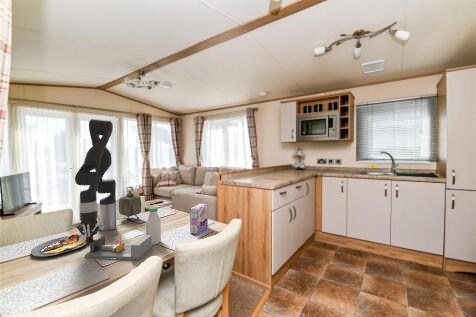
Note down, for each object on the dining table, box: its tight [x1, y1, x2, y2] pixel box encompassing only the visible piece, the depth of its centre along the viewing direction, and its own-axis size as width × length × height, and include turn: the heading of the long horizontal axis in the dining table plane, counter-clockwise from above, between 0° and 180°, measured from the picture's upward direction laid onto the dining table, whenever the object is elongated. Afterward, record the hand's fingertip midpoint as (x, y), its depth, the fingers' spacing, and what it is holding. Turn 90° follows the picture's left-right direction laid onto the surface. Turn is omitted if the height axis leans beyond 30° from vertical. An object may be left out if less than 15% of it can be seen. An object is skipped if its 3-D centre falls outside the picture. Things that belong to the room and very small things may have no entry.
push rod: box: [89, 235, 120, 252], centre depth 109 cm, size 12×8×5 cm, turn 84°
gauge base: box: [84, 234, 153, 262], centre depth 108 cm, size 28×12×8 cm, turn 84°
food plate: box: [30, 234, 88, 257], centre depth 115 cm, size 25×23×4 cm
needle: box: [116, 233, 126, 252], centre depth 108 cm, size 1×5×8 cm, turn 174°
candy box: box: [189, 203, 209, 235], centre depth 138 cm, size 14×6×16 cm, turn 161°
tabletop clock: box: [118, 186, 142, 221], centre depth 160 cm, size 14×9×25 cm, turn 66°
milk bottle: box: [145, 206, 162, 246], centre depth 120 cm, size 8×8×20 cm
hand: (89, 243), depth 109 cm, fingers closed
